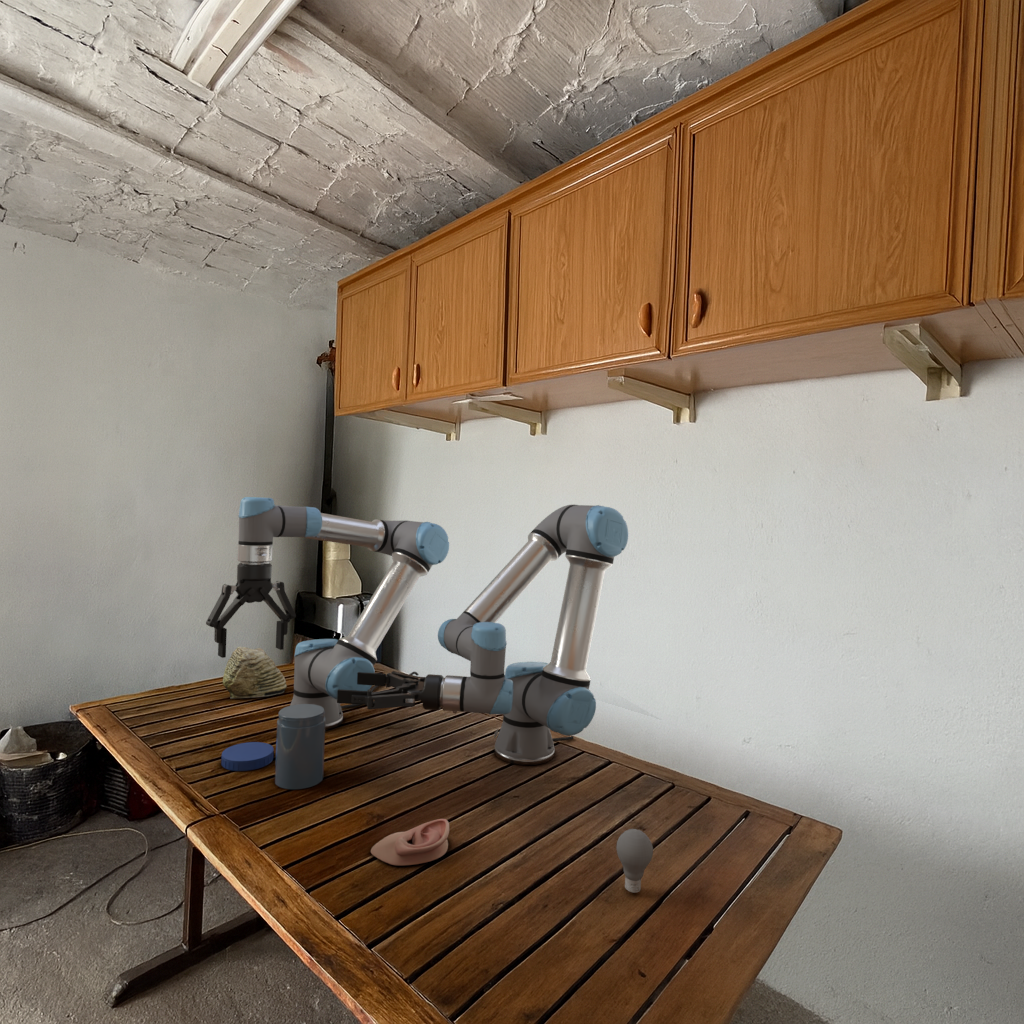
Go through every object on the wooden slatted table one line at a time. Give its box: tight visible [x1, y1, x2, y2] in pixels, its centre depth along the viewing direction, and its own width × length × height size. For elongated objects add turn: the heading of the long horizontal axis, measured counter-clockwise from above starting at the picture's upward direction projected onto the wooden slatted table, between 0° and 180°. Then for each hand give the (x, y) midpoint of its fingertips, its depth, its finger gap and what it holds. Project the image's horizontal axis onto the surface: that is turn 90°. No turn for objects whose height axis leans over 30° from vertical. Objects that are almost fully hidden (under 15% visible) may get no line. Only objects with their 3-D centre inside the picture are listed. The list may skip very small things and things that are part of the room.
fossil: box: [222, 646, 288, 699], centre depth 198 cm, size 9×18×15 cm, turn 132°
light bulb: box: [615, 828, 654, 894], centre depth 106 cm, size 6×6×10 cm
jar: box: [274, 704, 326, 790], centre depth 142 cm, size 10×10×15 cm
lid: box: [220, 741, 275, 772], centre depth 150 cm, size 11×12×2 cm
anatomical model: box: [370, 818, 450, 867], centre depth 115 cm, size 13×4×12 cm
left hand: (251, 652), depth 149 cm, fingers open, 13 cm apart
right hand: (348, 686), depth 141 cm, fingers open, 13 cm apart
